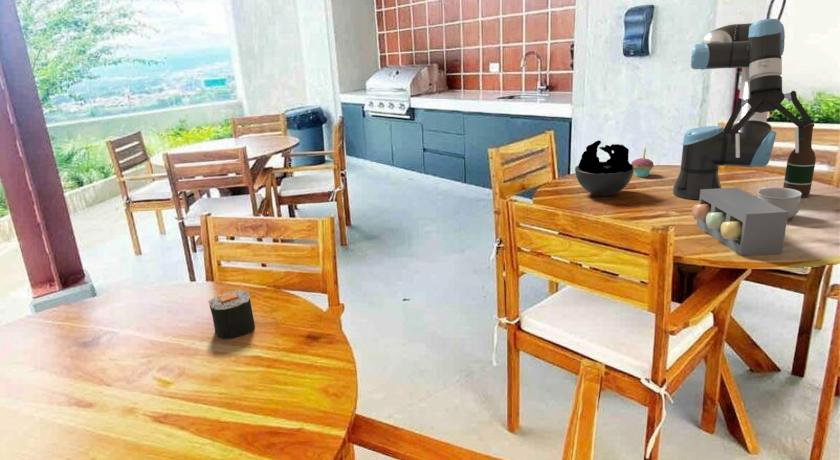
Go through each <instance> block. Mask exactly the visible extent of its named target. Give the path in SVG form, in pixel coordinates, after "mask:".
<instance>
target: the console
mask: <svg viewBox="0 0 840 460" xmlns="http://www.w3.org/2000/svg"><path fill="white" fill-rule="evenodd" d="M698 200H699V201H698V204H710V205H711V212H710V213H714V212H724V213H725V214H726V220H725V222H732V221H740V222H741V223H742V224H743V226H742V234H741V238H735V239H724V238H723V237H722V235H721V228H718V229H709V228H708V227H707V225H706V219H703V220H696V227H698V228H699V229H701V230H702V231H704V232H706V233H707V234H709V235H710V236H711V237H713V238H714V239H716V240H717V241H719V242H720V243H722V244H723V245H724V246H726V247H727V248H728V249H730V250H732V251H733V252H735V253H736V254H737V255H740V256H741V257H742V256H761V255H777V254H778V255H782V254H783V247H784V242H785V235H786V229H787V224H788V219H787V218H788V211H785V210H783V209H781V208H779V207H777V206H775V205H773V204H770V203H768V202H766V201H764V200H762V199H760V198H758V196H755V195H753V194H752V193H748V192H746V191H744V190H743V189H740V188H738V187H723V188H722V187H721V188H718V189H700V198H699V199H698Z"/></svg>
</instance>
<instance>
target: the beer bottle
mask: <svg viewBox="0 0 840 460" xmlns="http://www.w3.org/2000/svg"><path fill="white" fill-rule="evenodd" d="M814 127H815V123H813V122H812V124H811V125H808V126H805V127H804V139H803V140H799V153H795V148H794V149H793V150H792V151H791V152H790V154H789V156H788V158H787V162H786V168H785V174H784V180H783V185H782V186H783V187H782V188H789V189H794V190H797V191H800V192H801V193H802V195H801V199H802V198H807V197H809V195H811V194H810V192H811V190H812V183H813V178H814V172H815V167H816V166H815V165H816V161H817V160H816V158H817V156H816V153H815V151H814V149H813V148H812V145H813V144H812V142H813V141H812V139H813V131H814V130H813V129H814Z"/></svg>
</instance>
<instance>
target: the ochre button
mask: <svg viewBox="0 0 840 460" xmlns="http://www.w3.org/2000/svg"><path fill="white" fill-rule="evenodd" d="M742 226H743V224H742V223H741V222H740V221H732V222H723V223H722V225H721V235H722V237H723V238H724V239H735V238H741V234H742Z"/></svg>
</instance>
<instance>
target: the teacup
mask: <svg viewBox="0 0 840 460" xmlns="http://www.w3.org/2000/svg"><path fill="white" fill-rule="evenodd" d="M801 195H802V193H801V192H800V191H797V190H794V189H789V188H783V187H767V186H763V187H761V188H759V190H758V191H757V198H760V199H762V200H764V201H766V202H768V203H770V204H773V205H775V206H777V207H779V208H781V209H783V210H785V211H788V218H787V220H789V219H791V218H792V217H794V216H796V215H797V214H798V212H799V210H800V205H801V199H802V198H801Z"/></svg>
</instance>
